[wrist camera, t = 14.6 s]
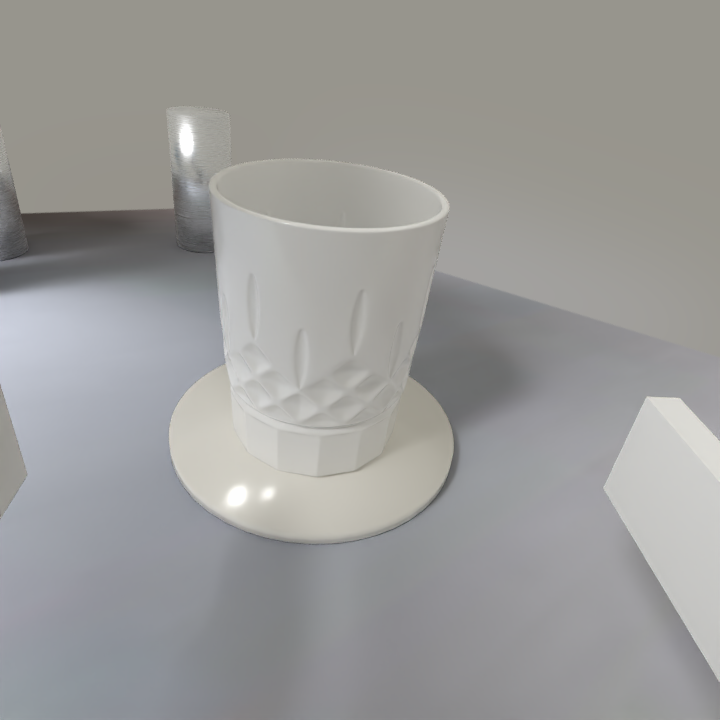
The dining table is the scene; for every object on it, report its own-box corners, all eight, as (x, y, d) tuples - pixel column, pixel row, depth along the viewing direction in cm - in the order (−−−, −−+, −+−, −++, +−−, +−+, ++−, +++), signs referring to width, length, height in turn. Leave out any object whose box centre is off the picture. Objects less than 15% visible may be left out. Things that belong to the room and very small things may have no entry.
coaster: (102, 477, 21) (100, 465, 20) (259, 336, 30) (259, 326, 30) (409, 594, 18) (411, 582, 17) (473, 397, 27) (475, 387, 27)
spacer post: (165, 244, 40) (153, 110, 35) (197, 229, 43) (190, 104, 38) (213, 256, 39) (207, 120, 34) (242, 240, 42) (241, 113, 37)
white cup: (323, 353, 28) (339, 151, 23) (442, 434, 24) (497, 205, 18) (183, 410, 23) (161, 169, 18) (300, 525, 19) (318, 250, 13)
